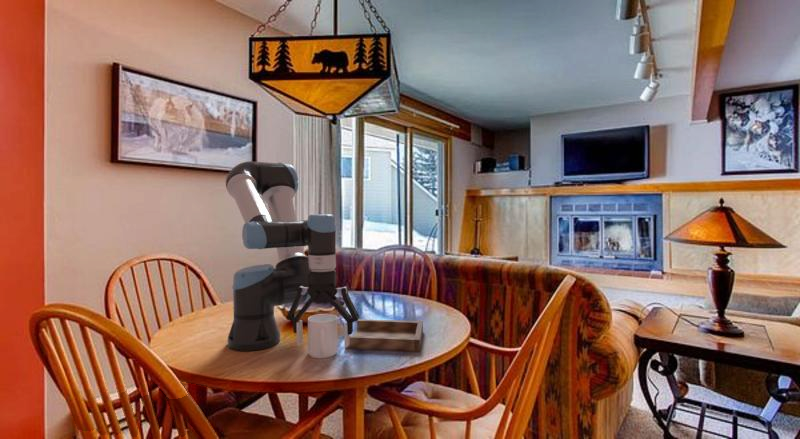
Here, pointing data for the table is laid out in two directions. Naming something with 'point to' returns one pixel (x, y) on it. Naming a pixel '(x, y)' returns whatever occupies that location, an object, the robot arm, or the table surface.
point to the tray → (387, 335)
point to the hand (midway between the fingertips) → (323, 345)
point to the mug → (322, 335)
